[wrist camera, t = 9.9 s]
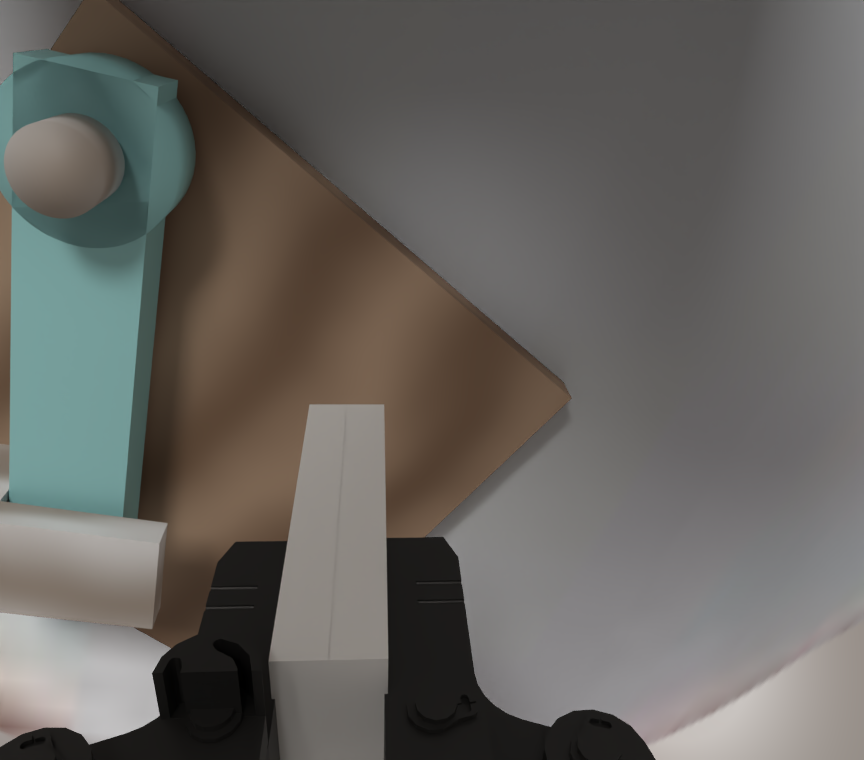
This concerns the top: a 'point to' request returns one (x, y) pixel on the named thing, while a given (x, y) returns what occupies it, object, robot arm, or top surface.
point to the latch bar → (89, 285)
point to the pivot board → (250, 357)
